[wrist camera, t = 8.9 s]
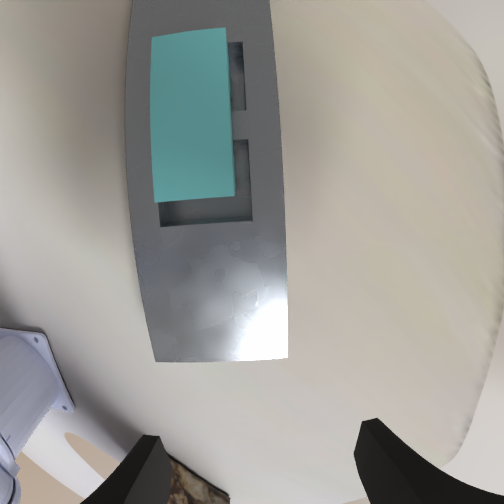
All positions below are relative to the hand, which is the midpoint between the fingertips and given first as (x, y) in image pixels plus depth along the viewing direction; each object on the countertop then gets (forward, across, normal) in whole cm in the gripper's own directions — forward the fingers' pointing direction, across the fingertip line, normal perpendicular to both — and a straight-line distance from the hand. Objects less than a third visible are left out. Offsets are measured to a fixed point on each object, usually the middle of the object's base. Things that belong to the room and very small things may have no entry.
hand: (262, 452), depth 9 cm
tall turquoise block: (+9, +2, -12) cm, 15 cm away
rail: (+10, +2, -12) cm, 15 cm away
